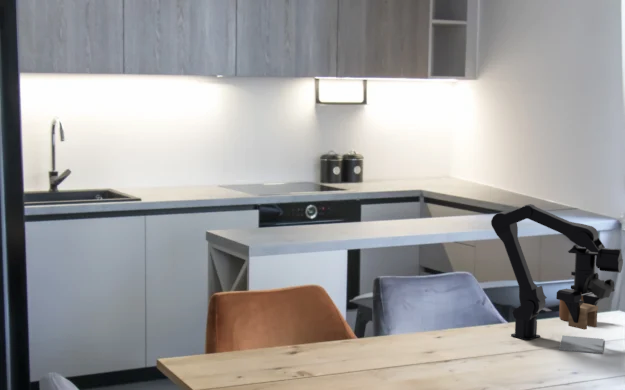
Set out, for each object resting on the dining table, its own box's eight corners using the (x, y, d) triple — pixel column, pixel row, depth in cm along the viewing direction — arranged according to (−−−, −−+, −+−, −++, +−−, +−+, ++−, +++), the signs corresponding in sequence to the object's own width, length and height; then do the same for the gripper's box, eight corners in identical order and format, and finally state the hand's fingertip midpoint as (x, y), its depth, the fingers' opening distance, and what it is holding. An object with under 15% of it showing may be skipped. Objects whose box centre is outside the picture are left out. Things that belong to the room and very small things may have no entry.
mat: (602, 353, 264) (602, 352, 264) (559, 349, 268) (559, 348, 268) (603, 340, 280) (603, 338, 280) (562, 336, 283) (562, 335, 283)
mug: (594, 317, 309) (595, 289, 308) (598, 323, 301) (599, 294, 300) (557, 316, 310) (558, 288, 309) (560, 321, 303) (561, 293, 302)
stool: (584, 329, 269) (585, 308, 268) (567, 325, 274) (568, 305, 273) (597, 326, 273) (598, 306, 272) (579, 322, 277) (580, 302, 277)
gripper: (589, 277, 259) (586, 331, 261) (627, 269, 271) (624, 322, 273) (556, 270, 268) (554, 323, 270) (594, 264, 280) (592, 314, 281)
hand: (582, 321), depth 273 cm, fingers closed on stool, 6 cm apart
